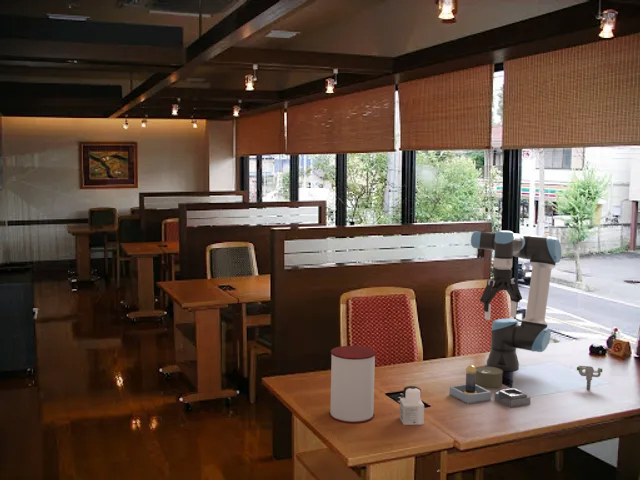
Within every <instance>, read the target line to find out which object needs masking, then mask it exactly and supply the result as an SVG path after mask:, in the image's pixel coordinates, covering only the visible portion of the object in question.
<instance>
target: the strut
mask: <svg viewBox="0 0 640 480" xmlns="http://www.w3.org/2000/svg"><path fill="white" fill-rule="evenodd" d="M476 372H477V370H476V366H474V365H473V364H472V365H471V364H469V365H467V366H466V368H465V384H466V387H465V390H464V393H465V394H467V395H469V394H475V393H477V392H476V391H475V384H476Z"/></svg>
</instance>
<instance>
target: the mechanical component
mask: <svg viewBox="0 0 640 480" xmlns="http://www.w3.org/2000/svg"><path fill="white" fill-rule="evenodd" d="M576 371H578V374H579V375H580V376H581V377H585V380H586V390H587V391H591V384H592V380H593V378H594V377H595V378H599V377H600V376H601V375H602V374H601V373H603V368H601V367H598V368H597V370H595V368H594V367H593V366H592V365H591V366H588V365H578V366H577V367H576Z"/></svg>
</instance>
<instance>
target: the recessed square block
mask: <svg viewBox="0 0 640 480" xmlns="http://www.w3.org/2000/svg"><path fill="white" fill-rule="evenodd" d="M531 398H532V397H531V396H528V393H526V392H524V391H522V390H520V389H518V388H515V387H513V388H512V387H511V388H504V389H500V390H499V389H498V391H497V392H494V400H495V401H497V402H499V403H500V404H503V405H505V406H506V407H509V408H510V409H511V408H516V407H517V408H518V407H522V406H523V407H525V406H529V405H531Z"/></svg>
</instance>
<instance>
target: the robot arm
mask: <svg viewBox="0 0 640 480" xmlns="http://www.w3.org/2000/svg"><path fill="white" fill-rule="evenodd" d="M470 245H471V247H472V248H474V249H478V250H480V249H481V250H487V251H493V253H494V255H493V267H494V268H493V269H492V271H493V273H492V274H493V275H492V276H493V280H492V279H488V280H487V282H486V286H485V288H484V290H483V293H482V295H481V297H480V300H479V302H480V303H482V304H483V312H484V319H485V320H487V321H491V313H492V312H491V309H492V308H491V307H492V304H490V303H491V302H492V301H493V299H494V297H495V296H496V295H497V293H499V291H501V292H502V291H505V292H507V293H508V295H509V297H510V298H511V301H510V314H509V315H510V316H509V317H511V318H499V319H495V320H493V322H492V325H491V329H490V330H491V340H490V352H489V354H488V357H487V359H486V365H485V366H491V367H496V368H499V369H501V370H503V372H514V371H518V370H519V368H520V362H519V360H518V359H519V358H518V356H517V349H519V350H525V351H529V352H530V351H531V352H534V353H535V352H537V353H542V352H545V350H546V349H547V348H548V346H549V343H550V340H551V336H552V335H551V333H552V332H551V328H549V327H548V323H547V322H546V312H547V311H546V310H547V305H548V297H549V290H550V282H551V273H552V270H553V269H554V268H555V267H556V264H557V263H560V261H561V260H562V245H561V242H560V240H559V238H557V237H553V236H546V235H545V236H544V235H531V234H520V233H514V232H513V231H511V230H496V232H488V231H477V230H476V231H473V232H472V234H471V237H470ZM514 257H517V258H519V259H523V260H529V265H530V266H532V270H531V274H530V283H529V291H528V299H527V305H526V312H525V317H524V318H522V319H521V323H518V322H519V321H518V319H516V318H517V310H518V307H519V306H518V305H519V304H518V303H520V301H522V300H523V297H522V295H521V294H522V293H521V292H520V289H519V285H518V280H517V278H515V277H512V275H513V269H512V268H513V258H514Z"/></svg>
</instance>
